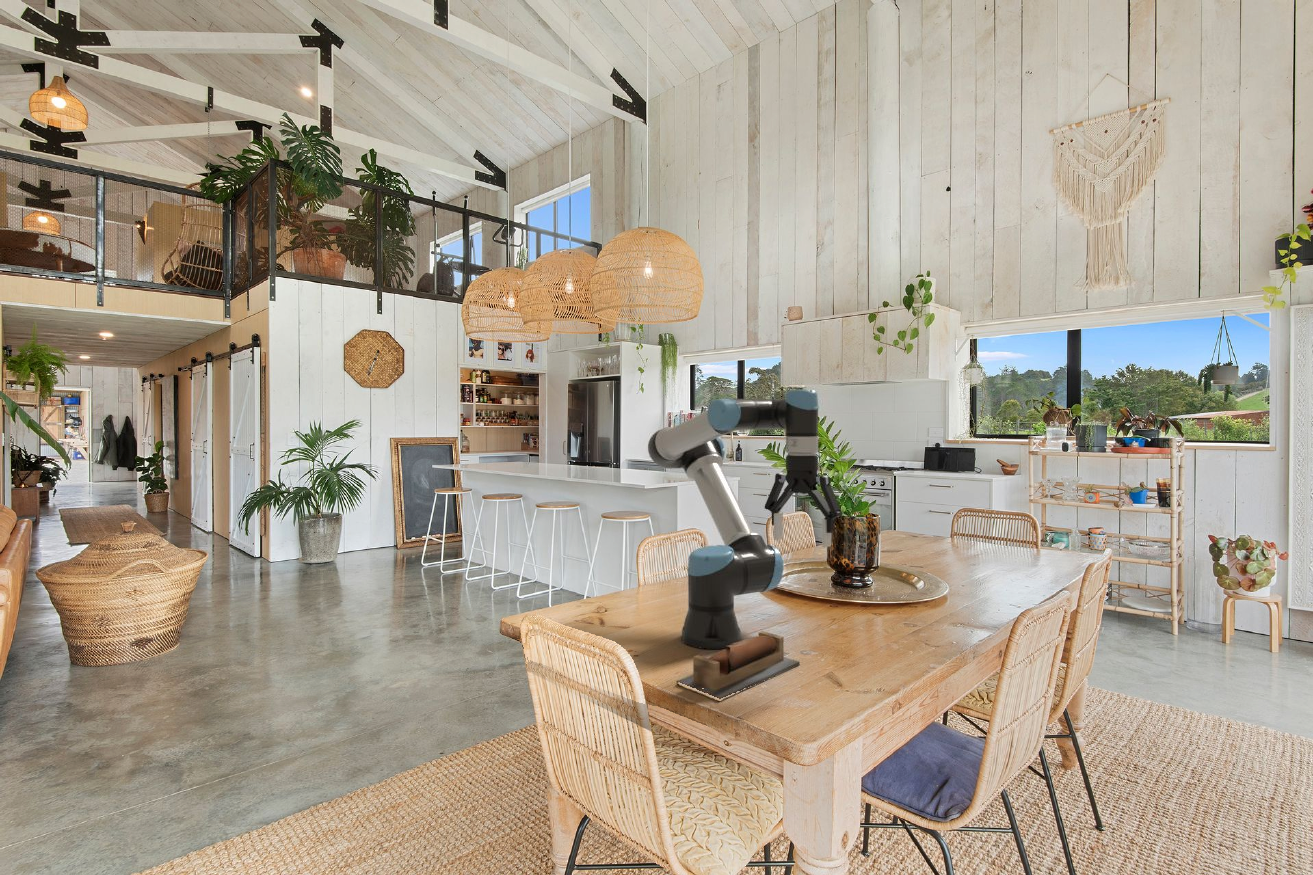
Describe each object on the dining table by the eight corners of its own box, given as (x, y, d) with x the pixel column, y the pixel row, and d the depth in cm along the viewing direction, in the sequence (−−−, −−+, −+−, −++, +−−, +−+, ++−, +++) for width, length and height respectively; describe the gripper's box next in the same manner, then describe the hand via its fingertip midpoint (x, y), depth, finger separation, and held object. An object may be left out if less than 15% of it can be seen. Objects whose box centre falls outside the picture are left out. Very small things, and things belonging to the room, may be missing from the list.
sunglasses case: (746, 642, 155) (758, 621, 153) (768, 663, 151) (781, 642, 149) (699, 664, 142) (711, 641, 139) (722, 688, 138) (735, 665, 135)
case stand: (676, 684, 140) (676, 655, 140) (757, 652, 160) (757, 626, 160) (719, 701, 132) (719, 670, 132) (799, 665, 151) (799, 637, 151)
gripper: (750, 453, 164) (750, 538, 165) (840, 456, 146) (840, 552, 147) (768, 452, 169) (768, 534, 170) (857, 455, 151) (857, 547, 152)
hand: (801, 542), depth 158 cm, fingers open, 13 cm apart
